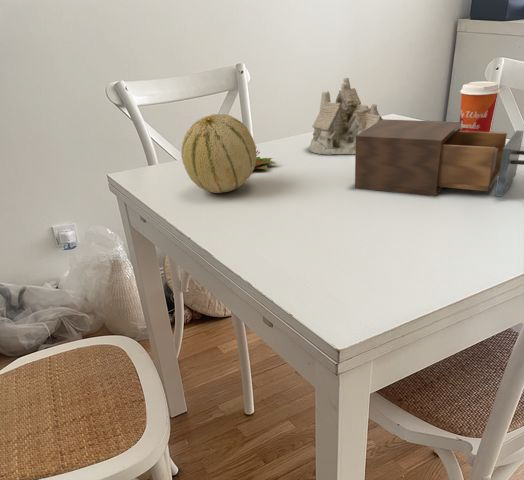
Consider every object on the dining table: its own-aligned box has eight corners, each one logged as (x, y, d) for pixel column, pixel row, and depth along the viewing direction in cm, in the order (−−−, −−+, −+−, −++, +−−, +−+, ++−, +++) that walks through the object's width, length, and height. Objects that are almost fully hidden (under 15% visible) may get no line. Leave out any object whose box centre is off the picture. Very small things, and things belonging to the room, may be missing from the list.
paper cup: (445, 156, 118) (453, 86, 110) (464, 148, 122) (473, 80, 114) (478, 161, 113) (489, 88, 105) (497, 152, 117) (508, 82, 109)
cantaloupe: (258, 177, 117) (252, 102, 108) (259, 199, 104) (252, 117, 96) (191, 182, 117) (179, 108, 109) (184, 205, 105) (170, 124, 96)
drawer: (540, 176, 100) (550, 131, 95) (529, 198, 91) (539, 150, 87) (437, 168, 108) (442, 127, 104) (418, 188, 100) (422, 144, 95)
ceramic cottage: (301, 147, 133) (303, 80, 124) (356, 138, 139) (362, 73, 130) (336, 165, 122) (340, 93, 113) (394, 154, 128) (403, 84, 119)
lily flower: (273, 174, 117) (271, 152, 115) (219, 176, 119) (217, 154, 117) (281, 159, 127) (279, 138, 124) (231, 160, 129) (229, 140, 126)
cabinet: (455, 173, 108) (461, 122, 102) (435, 196, 98) (441, 140, 93) (379, 167, 115) (381, 119, 109) (354, 188, 105) (355, 135, 100)
